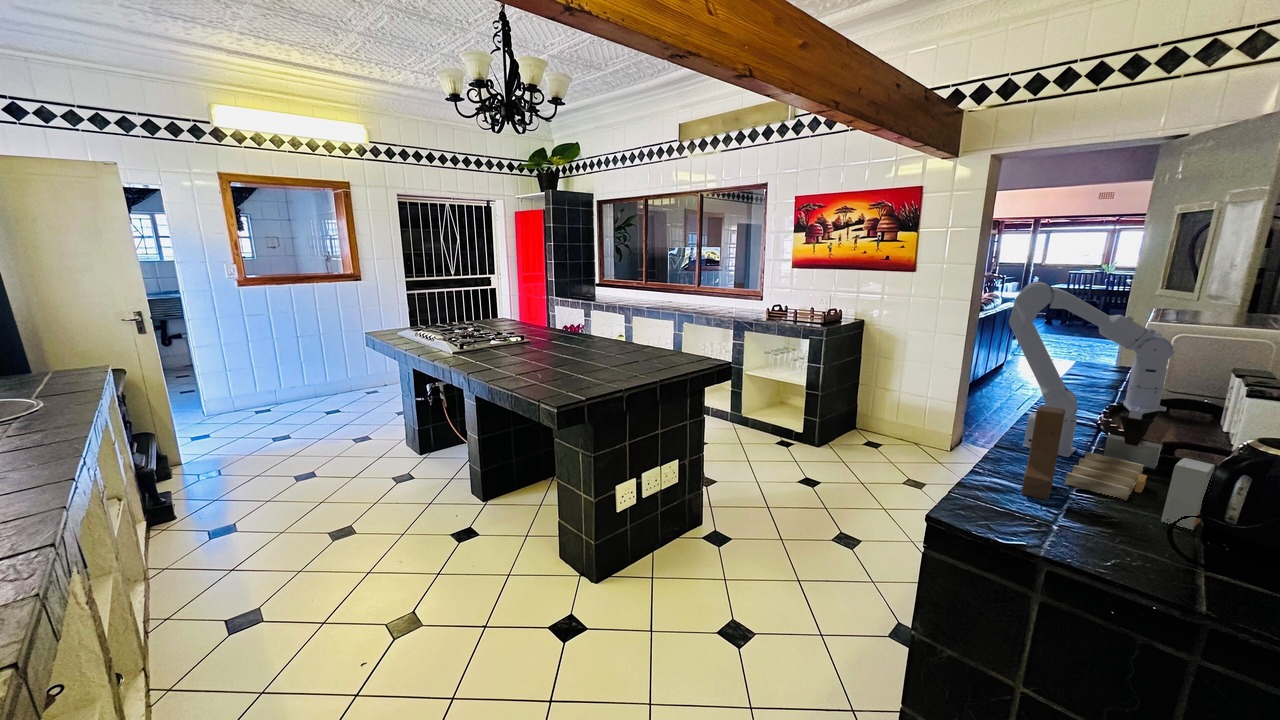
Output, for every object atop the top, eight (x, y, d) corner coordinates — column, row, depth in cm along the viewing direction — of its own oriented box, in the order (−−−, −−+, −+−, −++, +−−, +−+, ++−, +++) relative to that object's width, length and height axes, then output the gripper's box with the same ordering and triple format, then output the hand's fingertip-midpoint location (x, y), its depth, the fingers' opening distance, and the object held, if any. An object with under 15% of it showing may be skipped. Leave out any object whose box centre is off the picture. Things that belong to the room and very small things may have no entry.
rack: (1064, 483, 110) (1066, 472, 109) (1084, 461, 120) (1086, 451, 120) (1135, 503, 101) (1137, 491, 100) (1149, 477, 112) (1152, 466, 111)
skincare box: (1192, 532, 90) (1208, 472, 88) (1160, 522, 94) (1173, 464, 91) (1201, 522, 93) (1216, 464, 91) (1169, 513, 97) (1182, 456, 94)
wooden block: (1047, 501, 102) (1062, 419, 98) (1020, 494, 105) (1033, 415, 101) (1051, 486, 109) (1065, 408, 105) (1026, 480, 112) (1038, 404, 108)
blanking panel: (1102, 459, 121) (1107, 437, 120) (1105, 456, 123) (1109, 434, 122) (1154, 472, 115) (1159, 448, 113) (1156, 468, 116) (1161, 444, 115)
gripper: (1165, 395, 107) (1153, 453, 110) (1174, 383, 116) (1162, 437, 119) (1121, 389, 113) (1110, 444, 116) (1133, 378, 121) (1122, 430, 124)
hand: (1134, 440), depth 118 cm, fingers open, 7 cm apart
